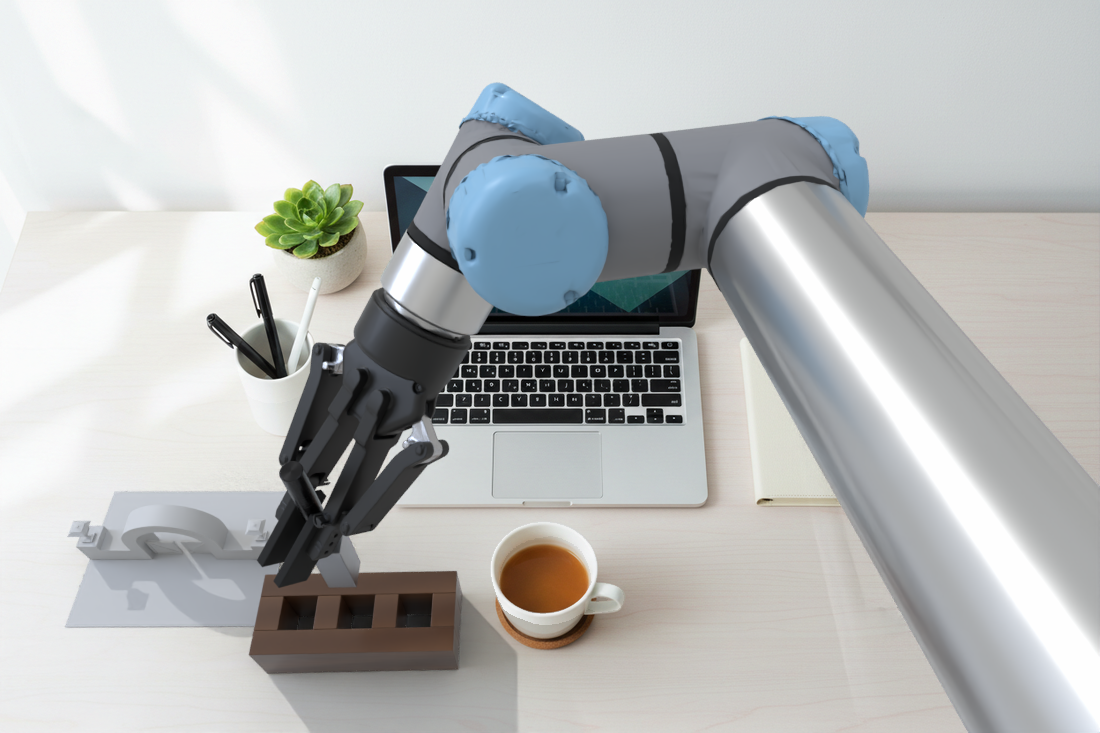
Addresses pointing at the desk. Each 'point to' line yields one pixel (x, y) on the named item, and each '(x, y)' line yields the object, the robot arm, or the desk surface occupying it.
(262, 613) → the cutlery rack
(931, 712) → the desk surface
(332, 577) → the rod topped stamp
